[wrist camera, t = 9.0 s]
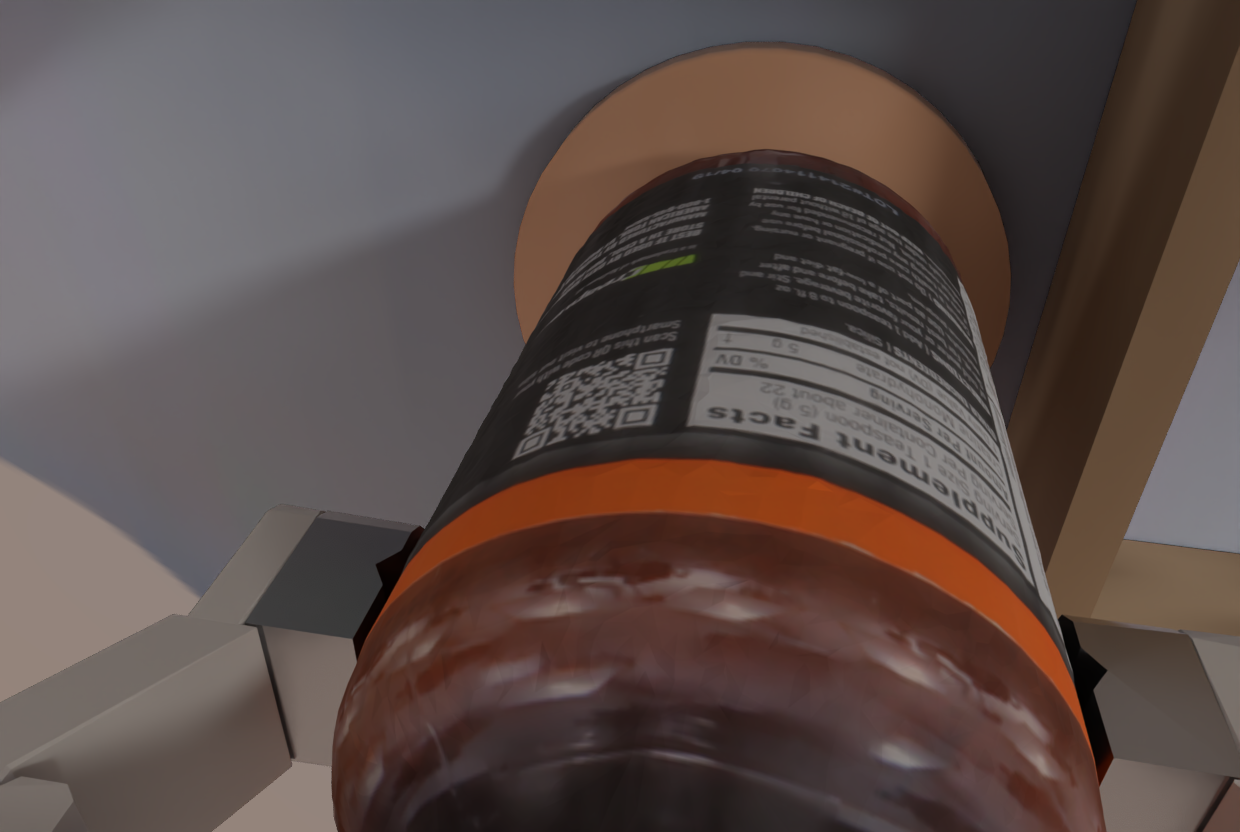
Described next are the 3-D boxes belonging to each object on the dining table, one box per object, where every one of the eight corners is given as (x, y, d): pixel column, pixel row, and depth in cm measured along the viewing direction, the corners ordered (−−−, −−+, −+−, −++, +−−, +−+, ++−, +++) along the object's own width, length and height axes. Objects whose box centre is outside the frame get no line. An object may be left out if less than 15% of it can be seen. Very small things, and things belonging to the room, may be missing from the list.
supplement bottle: (779, 549, 17) (697, 1526, 7) (496, 343, 15) (-29, 1201, 6) (1069, 319, 13) (1579, 1540, 4) (739, 36, 12) (408, 856, 3)
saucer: (1063, 59, 13) (1075, 76, 12) (943, 499, 17) (949, 527, 17) (519, 23, 14) (504, 36, 13) (531, 448, 18) (521, 472, 18)
